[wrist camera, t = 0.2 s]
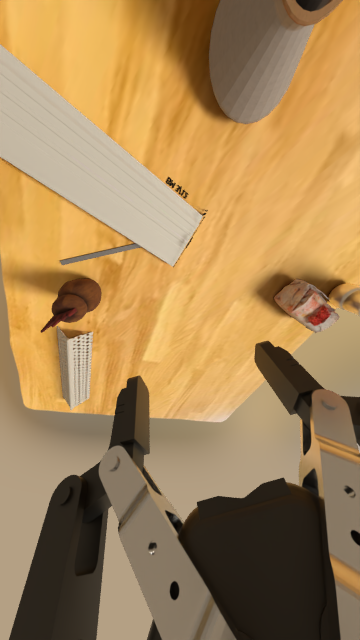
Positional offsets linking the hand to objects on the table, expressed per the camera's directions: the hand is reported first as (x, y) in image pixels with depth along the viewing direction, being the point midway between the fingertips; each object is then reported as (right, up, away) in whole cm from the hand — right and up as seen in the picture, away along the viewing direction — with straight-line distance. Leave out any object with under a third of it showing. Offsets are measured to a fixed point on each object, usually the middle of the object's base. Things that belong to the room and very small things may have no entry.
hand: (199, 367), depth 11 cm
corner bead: (-32, -10, +38) cm, 50 cm away
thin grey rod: (-15, +17, +21) cm, 31 cm away
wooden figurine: (-21, +10, +25) cm, 34 cm away
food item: (+29, +9, +33) cm, 45 cm away
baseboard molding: (-12, +26, +16) cm, 33 cm away
